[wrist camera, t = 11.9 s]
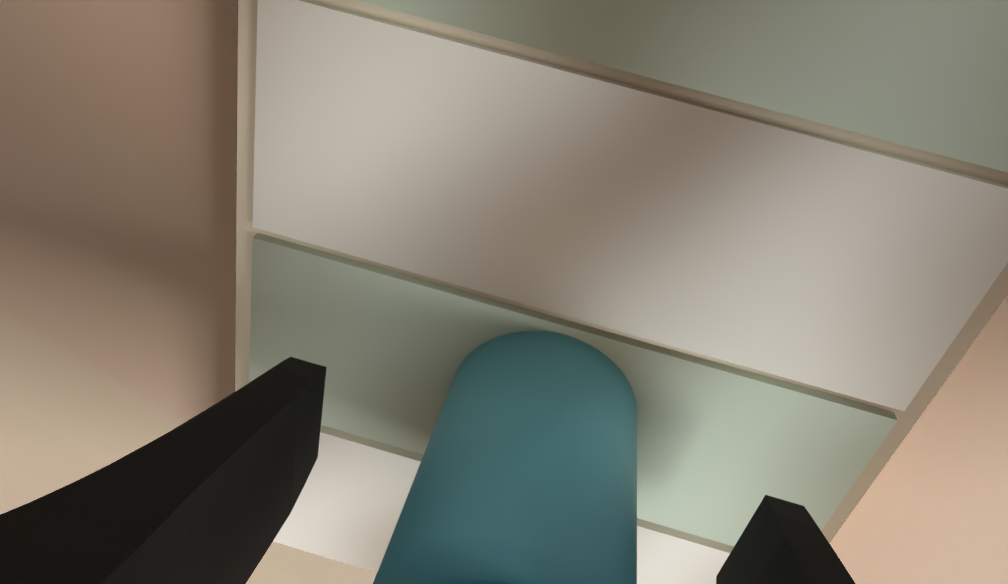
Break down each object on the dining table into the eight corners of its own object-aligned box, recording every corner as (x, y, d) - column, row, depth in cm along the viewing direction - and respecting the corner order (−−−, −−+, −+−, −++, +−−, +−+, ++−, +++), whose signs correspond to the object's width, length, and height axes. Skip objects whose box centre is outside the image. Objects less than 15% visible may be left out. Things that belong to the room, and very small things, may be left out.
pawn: (663, 361, 11) (691, 845, 5) (606, 498, 13) (579, 975, 7) (468, 307, 11) (292, 723, 6) (437, 450, 13) (278, 879, 7)
